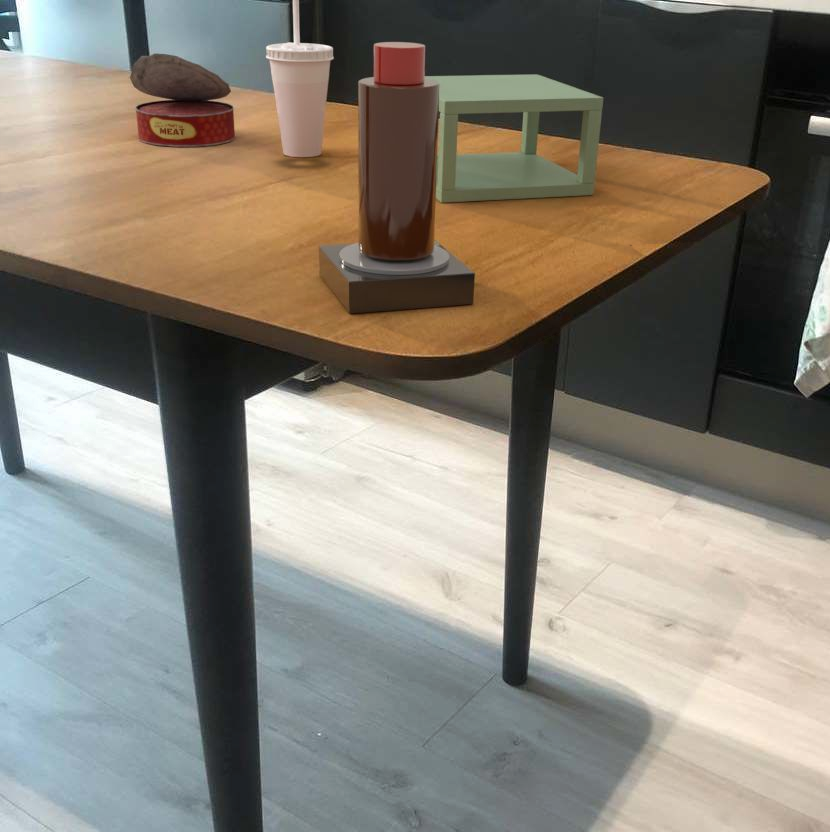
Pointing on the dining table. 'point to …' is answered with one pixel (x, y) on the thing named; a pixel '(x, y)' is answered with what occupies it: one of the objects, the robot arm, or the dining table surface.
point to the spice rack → (521, 169)
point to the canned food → (181, 103)
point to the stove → (395, 280)
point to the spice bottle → (397, 155)
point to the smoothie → (300, 91)
